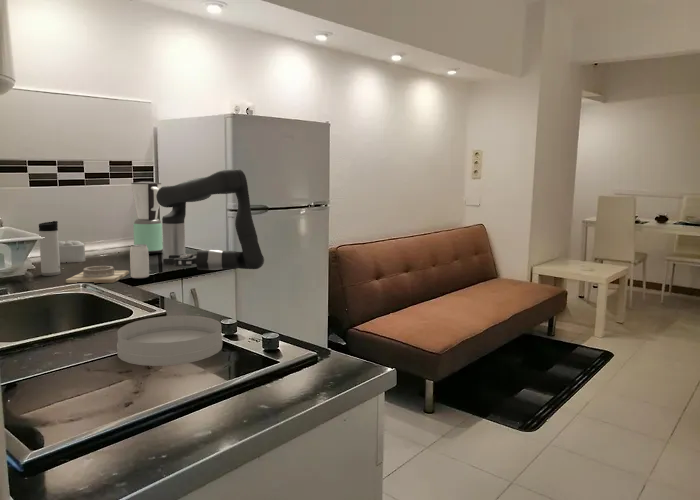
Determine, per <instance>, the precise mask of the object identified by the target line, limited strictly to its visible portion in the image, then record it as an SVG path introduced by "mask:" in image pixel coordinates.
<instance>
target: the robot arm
mask: <svg viewBox="0 0 700 500" xmlns="http://www.w3.org/2000/svg"><path fill="white" fill-rule="evenodd" d="M247 181H248V179H247V177H246V174H245V173H244V171H243V170H242V169H239V168H230V169H229V168H227V169H221V170H219V171H216V172H213V173H212V174H210V175H208V176H200V177H195V178H192V179H189V180H186V181H182V182H180V183H177V184H174V185H166V186H165V185H163V186H161V188H160V189H159V190H158V192H157V195H156V198H157V201H158V203H159V204H160V207H162V208H172V209H171V211H170V212H169V213H168V214H165V215H164V216H162V219H161V223H162V239H163V251H162V257H163V259H162V260H163V261H162V263H163V265H164V266H165V265H167V266H175V267H192V266H193V265H196V269H197V270H198V271H199V270H200V271H202V270H203V271H216V270H217V271H218V270H236V269H237V270H238V269H241V270H258V269H260V268H262V267H263V266H264V263H265V258H264V255H263V252H262V250H261V247H260V244H259V239H258V234H257V231H256V226H255V224H254V221H253V215H252V209H251V201H250V195H249V187H248V182H247ZM229 194H230V195H231V194H235V196H236V200H237V210H236V216H235V221H234V224H235V225H234V226H235V230H236V234H237V237H238V241H239V243H240V246H241V251H237V250H219V249H198V250H197V252H196V253H186V233H185V232H186V229H185V219H186V215H187V214H186V212H187V211H186V209H187V207H186V206H187V203H194V202H195V203H196V202H200V201H206V200H207V199H210V197H211V196H212V195H229Z"/></svg>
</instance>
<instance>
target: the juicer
mask: <svg viewBox="0 0 700 500" xmlns="http://www.w3.org/2000/svg"><path fill="white" fill-rule="evenodd" d="M130 183H131V191H132V196H133V201H134V207H135V211H136V216H137V219H135V220H134V222H133V245H136V244H145V245H147V248H148V253H149V254H150V255H151V254H152V255H153V254H158V253H161V252H162V253H163V229H162V220H160V219H159V218H158V216H159V209H160V207H161V205H160V204H159V203H158V201H157V198H156V195H157V192H158V190H159V189H160V188H161V187H162V183H161V182H154V181H150V180H142V181H136V182H130Z"/></svg>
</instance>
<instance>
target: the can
mask: <svg viewBox="0 0 700 500" xmlns="http://www.w3.org/2000/svg"><path fill="white" fill-rule="evenodd" d="M149 259H150V255H149V253H148V248H147V245H145V244H136V245H134V244H131V245H130V249H129V262H130V264H129V266H130V278H132V279H146V278H149V277H150V260H149Z"/></svg>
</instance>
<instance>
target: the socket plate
mask: <svg viewBox="0 0 700 500" xmlns="http://www.w3.org/2000/svg"><path fill="white" fill-rule="evenodd" d="M82 270H83V271H81V272H80V273H77V274H75V275H73V276H71V277H69V278H66V279H65V283H66V284H78V283H77V282H94V283H93V284H95V283H96V284H103V283H104V284H105V283H106V284H107V283H109V284H113V283H116V282H117V281H119V280H120V279H123V278H124V277H126V276H128V275H129V274H130V270H115V267H114V266H113V265H95V266H86V267H84V268H82Z"/></svg>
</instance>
